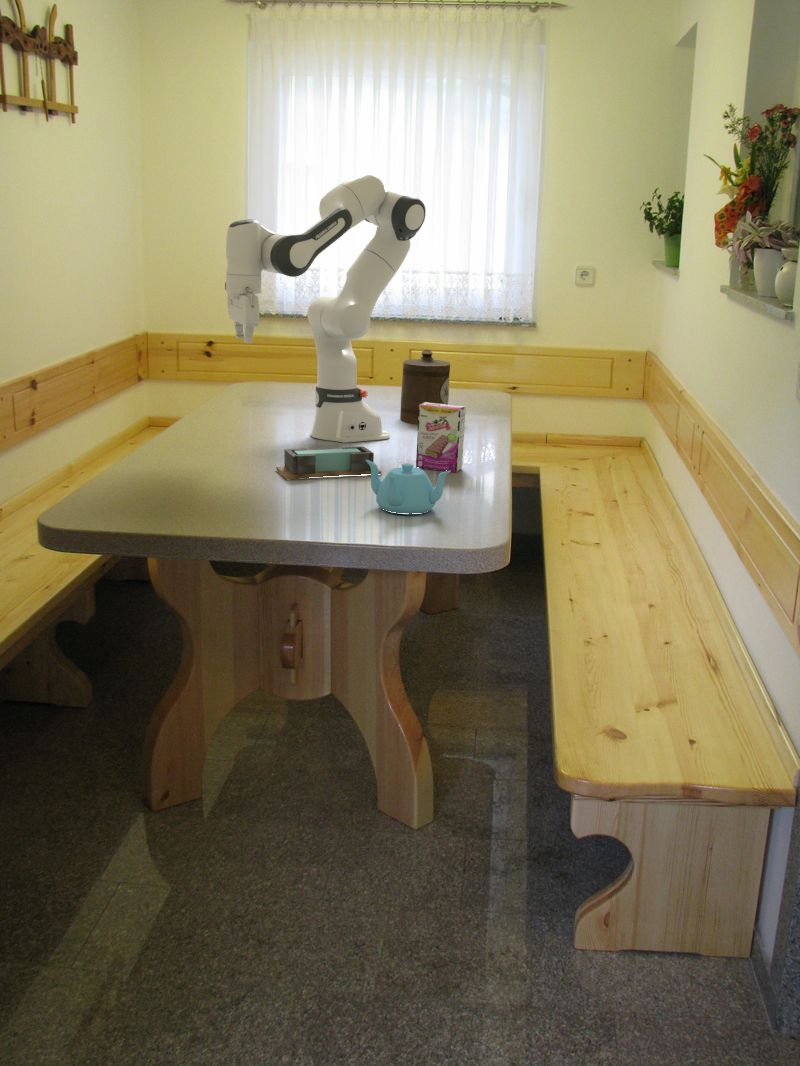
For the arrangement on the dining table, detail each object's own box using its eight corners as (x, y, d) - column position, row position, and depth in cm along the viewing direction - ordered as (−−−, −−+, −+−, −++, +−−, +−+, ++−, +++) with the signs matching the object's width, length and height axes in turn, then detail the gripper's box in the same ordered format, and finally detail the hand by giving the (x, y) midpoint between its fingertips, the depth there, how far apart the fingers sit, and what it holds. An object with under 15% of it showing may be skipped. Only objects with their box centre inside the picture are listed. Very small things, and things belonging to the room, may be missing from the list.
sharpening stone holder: (368, 466, 281) (368, 445, 279) (381, 475, 272) (382, 453, 270) (276, 470, 273) (276, 448, 271) (286, 480, 264) (286, 457, 262)
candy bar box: (415, 468, 281) (417, 404, 276) (421, 464, 285) (423, 401, 281) (457, 473, 277) (460, 408, 273) (462, 469, 282) (466, 405, 277)
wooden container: (453, 424, 341) (457, 352, 335) (408, 425, 337) (410, 352, 331) (438, 415, 355) (441, 346, 349) (394, 416, 351) (396, 346, 344)
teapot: (424, 499, 251) (426, 455, 248) (451, 516, 238) (453, 470, 235) (363, 503, 246) (365, 458, 243) (387, 521, 233) (389, 473, 230)
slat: (355, 465, 277) (356, 448, 275) (360, 469, 273) (361, 451, 272) (293, 468, 271) (294, 450, 270) (298, 472, 267) (298, 454, 266)
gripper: (265, 289, 272) (265, 345, 276) (247, 283, 290) (247, 336, 294) (240, 289, 270) (240, 345, 274) (223, 282, 288) (223, 336, 292)
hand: (243, 340), depth 284 cm, fingers open, 8 cm apart
